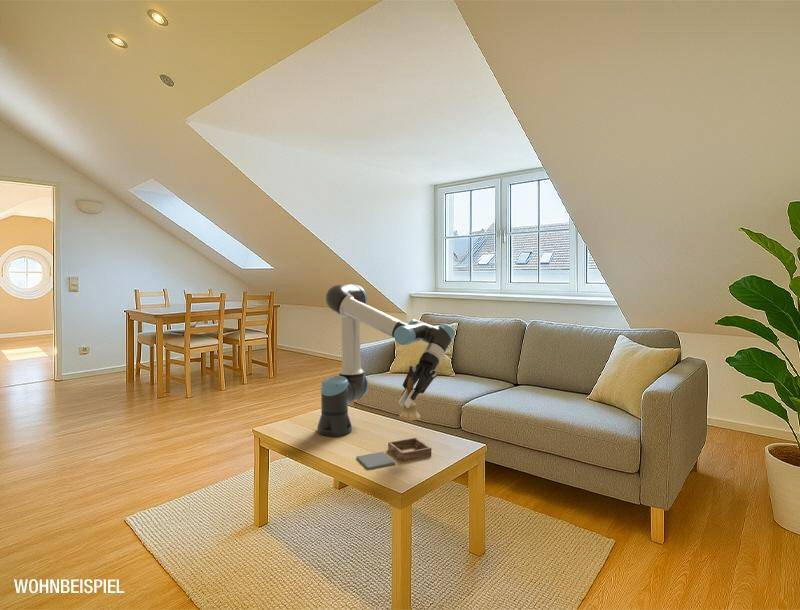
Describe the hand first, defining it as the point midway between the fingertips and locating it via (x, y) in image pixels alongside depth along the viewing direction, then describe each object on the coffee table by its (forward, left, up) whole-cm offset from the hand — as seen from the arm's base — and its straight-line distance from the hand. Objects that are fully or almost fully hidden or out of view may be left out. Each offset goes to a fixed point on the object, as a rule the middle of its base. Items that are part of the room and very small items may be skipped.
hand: (403, 405), depth 181 cm
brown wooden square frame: (-1, +4, -20) cm, 20 cm away
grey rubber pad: (+1, -12, -20) cm, 23 cm away
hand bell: (-1, +4, -6) cm, 7 cm away
